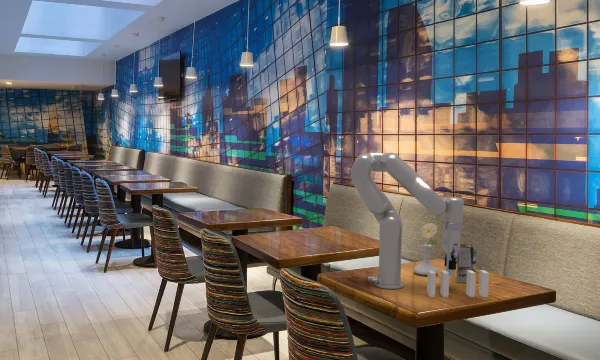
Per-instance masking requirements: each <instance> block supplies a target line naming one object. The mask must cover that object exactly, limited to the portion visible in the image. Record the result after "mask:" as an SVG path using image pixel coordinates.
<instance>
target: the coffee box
mask: <svg viewBox="0 0 600 360" xmlns="http://www.w3.org/2000/svg"><path fill="white" fill-rule="evenodd" d="M473 248H474V246H473V245H472V244H471V243H470V244H465V243H460V250H459V253H458V256H457V263H456V281H457V283H458V284H459V283H460V284H466V280H467V270H473Z"/></svg>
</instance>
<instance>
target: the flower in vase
mask: <svg viewBox="0 0 600 360" xmlns="http://www.w3.org/2000/svg"><path fill="white" fill-rule="evenodd" d="M420 232H421V239H422V240H423V241H425V242H426V243H427V244H421V247H422V250H423V260H422V261H421V262H420V263H419V264H417V265H416V266H415V267H414V268H413V272H414V273H416V274H418V275H422V276H428V270H433V271H434V272H435V273H436V275H437V274H438V272H439V270H438V268H437V267H436V266H435V265H434V264H433V263H431V261H430V260H429V259H430V257H429V256H430V252H431V251H430V250H431V248H432V247H433V245H438V242H437V240H436V239H435V238H434V237H435V235H436V234H437V232H438V227H437V225H436V224H434V223H432V222H430V223H429V222H427V223H426V224H424V225H423V226H422V228H421V230H420ZM433 238H434V239H433ZM427 239H430V240H429V242H428V240H427ZM430 243H431V244H432V245H431V244H430Z"/></svg>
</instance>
